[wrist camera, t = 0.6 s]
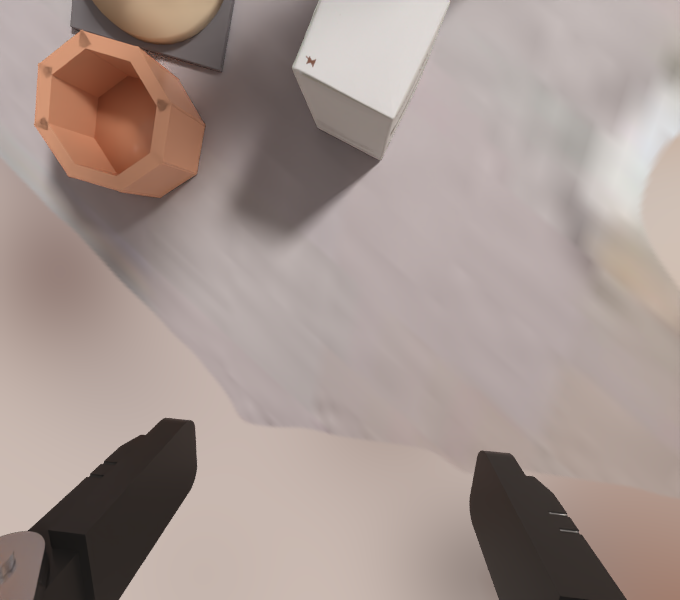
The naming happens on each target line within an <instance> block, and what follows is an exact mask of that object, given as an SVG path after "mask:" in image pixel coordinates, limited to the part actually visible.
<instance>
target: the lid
mask: <svg viewBox="0 0 680 600" xmlns="http://www.w3.org/2000/svg"><path fill="white" fill-rule="evenodd" d="M92 1H93V2H94V4H95V5H96V6H97V7H98V9H99V10H100V11H101V12H102V13H103V14H104V15H105V16H106V17H107V18H108V19H109V20H110V21H111V22H113V23H114V24H115V25H116V26H118V27H119V28H120V29H121V30H123V31H124V32H126V33H127V34H129V35H130V36H132V37H134V38H136V39H138V40H141V41H144V42H147V43H152V44H160V45H167V44H175V43H179V42H182V41H185V40H187V39H189V38H191V37H193V36H195V35H196V34H198V33H199V32H200V31H202V30H203V29H204V28H205V27H206V26H207V25H208V24H209V23H210V22H211V21H212V19H213V18H214V17H215V15H216V14H217V12H218V11H219V9H220V7H221V5H222V3H223V1H224V0H92Z"/></svg>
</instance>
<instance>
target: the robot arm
mask: <svg viewBox="0 0 680 600" xmlns="http://www.w3.org/2000/svg"><path fill="white" fill-rule="evenodd" d="M196 470H197V458H196V437H195V425H194V422H193V421H191V420H181V419H172V418H164V419H163V420H161V421H160V422H159V423H158V424H157V425H156V426H155V427H154V428H153V429H152V430H151V431H150V432H149V433H148V434H146V435H140V436H138V437H136V438H135V439H132V440H131V441H129V442H127V443H125V444H124V445H122V446H120V447H119V448H118V449H117V450H116V451H115V452H114V453H113V454H112V455H110V456H109V457H108V458H107V459H106V460H105V461H104V464H100V465H99V466H98V467H97V468H96V469H95V470H94V471H93V472H92V473H91V474H90V476H89V477H86V478H85V479H84V480H83V481H82V482H81V483H80V484H79V485H78V486H76V487H75V488H74V489H73V490H72V491H71V492H70V493H69V494H68V495H67V496H65V498H63V499H62V500H61V501H60V502H59V503H58V504H57V505H56V506H55V507H53V508H52V509H51V510H50V511H49V512H48V513H47V514H46V515H45V516H44V517H43V518H41V519H40V520H39V521H38V522H37V523H36V524H35V525H34V526H33V527H32V528H30V529H29V530H28V531H24V532H23V531H22V532H15V533H11V534H7V535H4V536H1V537H0V600H119V598H120V597H121V595H122V594H123V592H124V591H125V589H126V588H127V586H128V585H129V583H130V582H131V580H132V579H133V577H134V576H135V574H136V572H137V571H138V569H139V568H140V566H141V565H142V563H143V562H144V560H145V559H146V557H147V556H148V554H149V553H150V551H151V550H152V548H153V546H154V545H155V543H156V542H157V540H158V539H159V537H160V536H161V534H162V533H163V531H164V529H165V528H166V526H167V525H168V523H169V522H170V520H171V519H172V517H173V516H174V514H175V513H176V511H177V510H178V508H179V506H180V505H181V504H182V502H183V501H184V499H185V498H186V496H187V494H188V493H189V491H190V490H191V488H192V485H193V483H194V480H195V476H196ZM470 515H471V520H472V524H473V527H474V530H475V533H476V536H477V538H478V541H479V544H480V547H481V550H482V552H483V555H484V558H485V561H486V564H487V567H488V570H489V572H490V575H491V578H492V581H493V584H494V587H495V589H496V592H497V595H498V598H499V600H627V599H626V598H625V596H624V595H623V593H622V592H621V591H620V589H619V588H618V586H617V585H616V584H615V582H614V581H613V579H612V578H611V576H610V575H609V573H608V572H607V570H606V569H605V567H604V566H603V565H602V563H601V562H600V560H599V559H598V558H597V556H596V554H595V553H594V552H593V550H592V549H591V547H590V546H589V544H588V543H587V541H586V540H585V539H584V537H583V536H582V535H580V534H579V530H578V529H577V527H576V526H575V524H574V523H573V521H572V520H571V518H570V517H568V516H567V513H566V511H565V510H564V508H563V507H562V505H561V504H560V502H559V501H558V500H557V498H556V497H555V495H554V494H553V493H552V492H551V491H550V490H549V489H547V488H546V487H545V486H544V485H543V484H542V483H541V482H539V481H538V480H537V479H536V478H535V477H532V476H526V475H525V474H524V472H523V471H522V469H521V467H520V466H519V464H518V463H517V461H516V460H515V458H514V457H513V455H512V454H510V453H501V452H491V451H480V452H479V453H478V456H477V461H476V467H475V472H474V477H473V483H472V488H471V494H470Z"/></svg>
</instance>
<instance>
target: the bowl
mask: <svg viewBox="0 0 680 600" xmlns="http://www.w3.org/2000/svg"><path fill="white" fill-rule="evenodd" d="M34 125H35V127H36V128H37V130H38V131H39V133H40V134H41V136H42V137H43V139H44V140H45V142H46V143H47V145H48V146H49V148H50V149H51V151H52V152H53V154H54V155H55V157H56V158H57V160H58V161H59V163H60V164H61V166H62V167H63V169H64V170H65V172H66V173H67V176H69V177H71V178H76V179H79V180H83V181H86V182H90V183H93V184H96V185H100V186H103V187H106V188H110V189H113V190H117V191H119V192H122V193H129V194H136V195H143V196H150V197H156V198H162V196H164V195H165V194H167V193H168V192H170V191H171V190H173V189H175V188H176V187H178V186H179V185H181V184H182V183H184V182H185V181H187V180H188V179H190V178H191V177H193V176H195V175H197V170H198V164H199V158H200V153H201V147H202V141H203V135H204V130H205V127H206V126H205V124H204V122H203V121H202V119H201V117H200V116H199V114H198V112H197V110H196V109H195V107H194V105H193V103H192V102H191V100H190V98H189V97H188V95H187V93H186V91H185V90H184V88H183V86H182V84H181V83H180V81H179V79H178V78H177V77H176V76H174V75H173V74H172V73H171V72H169V71H168V70H167V69H166V68H164V67H163V66H162V65H161V64H159V63H158V62H157V61H156V60H154V59H153V58H152V57H151V56H150V55H148V54H147V53H146V52H145V51H143V50H142V49H141V48H140V47H138V46H133V45H130V44H127V43H123V42H120V41H116V40H113V39H110V38H106V37H103V36H99V35H96V34H93V33H89V32H86V31H84V30H80V32H78V33H77V34H76V35H75V36H73V37H72V38H71V39H70V40H68V41H67V42H66V43H65V44H63V45H62V46H61V47H60V48H58V49H57V50H56V51H55V52H53V53H52V54H51V55H50V56H48V57H47V58H46V59H45V60H43V61H42V62H41V63H38V78H37V94H36V110H35V124H34Z"/></svg>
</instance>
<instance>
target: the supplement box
mask: <svg viewBox="0 0 680 600" xmlns="http://www.w3.org/2000/svg"><path fill="white" fill-rule="evenodd" d="M449 4H450V0H319V2H318V4H317V6H316V8H315V11H314V13H313V16H312V19H311V22H310V24H309V27H308V29H307V32H306V34H305V37H304V39H303V42H302V44H301V47H300V49H299V52H298V54H297V57H296V59H295V61H294V63H293V66H292V70H293V72H294V75H295V77H296V79H297V82H298V84H299V86H300V89H301V91H302V93H303V96H304V98H305V100H306V103H307V105H308V107H309V109H310V112H311V114H312V116H313V119H314V121H315V123H316V126H317V128H319V129H321V130H323V131H325V132H326V133H328V134H330V135H332V136H334V137H336V138H338V139H340V140H341V141H343V142H346V143H347V144H349V145H351V146H353V147H355V148H357V149H359V150H361V151H362V152H364V153H366V154H368V155H370V156H372V157H374V158H376V159H378V160H382V158H383V156H384V153H385V151H386V149H387V147H388V145H389V143H390V141H391V139H392V137H393V135H394V133H395V131H396V129H397V127H398V125H399V123H400V121H401V119H402V117H403V115H404V113H405V111H406V109H407V106H408V104H409V102H410V100H411V98H412V96H413V94H414V92H415V90H416V88H417V85H418V83H419V80H420V78H421V76H422V73H423V71H424V68H425V66H426V63H427V61H428V58H429V56H430V53H431V51H432V48H433V45H434V43H435V40H436V37H437V35H438V32H439V30H440V27H441V25H442V22H443V19H444V17H445V14H446V12H447V9H448V7H449Z"/></svg>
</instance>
